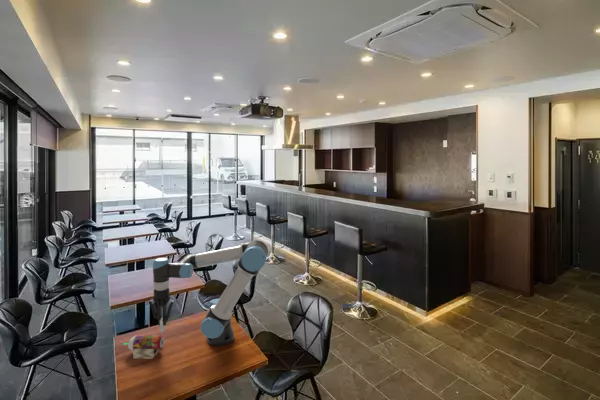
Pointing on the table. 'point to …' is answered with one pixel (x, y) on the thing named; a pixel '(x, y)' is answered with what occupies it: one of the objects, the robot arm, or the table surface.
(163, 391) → the table surface
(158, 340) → the smoothie
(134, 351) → the rest
